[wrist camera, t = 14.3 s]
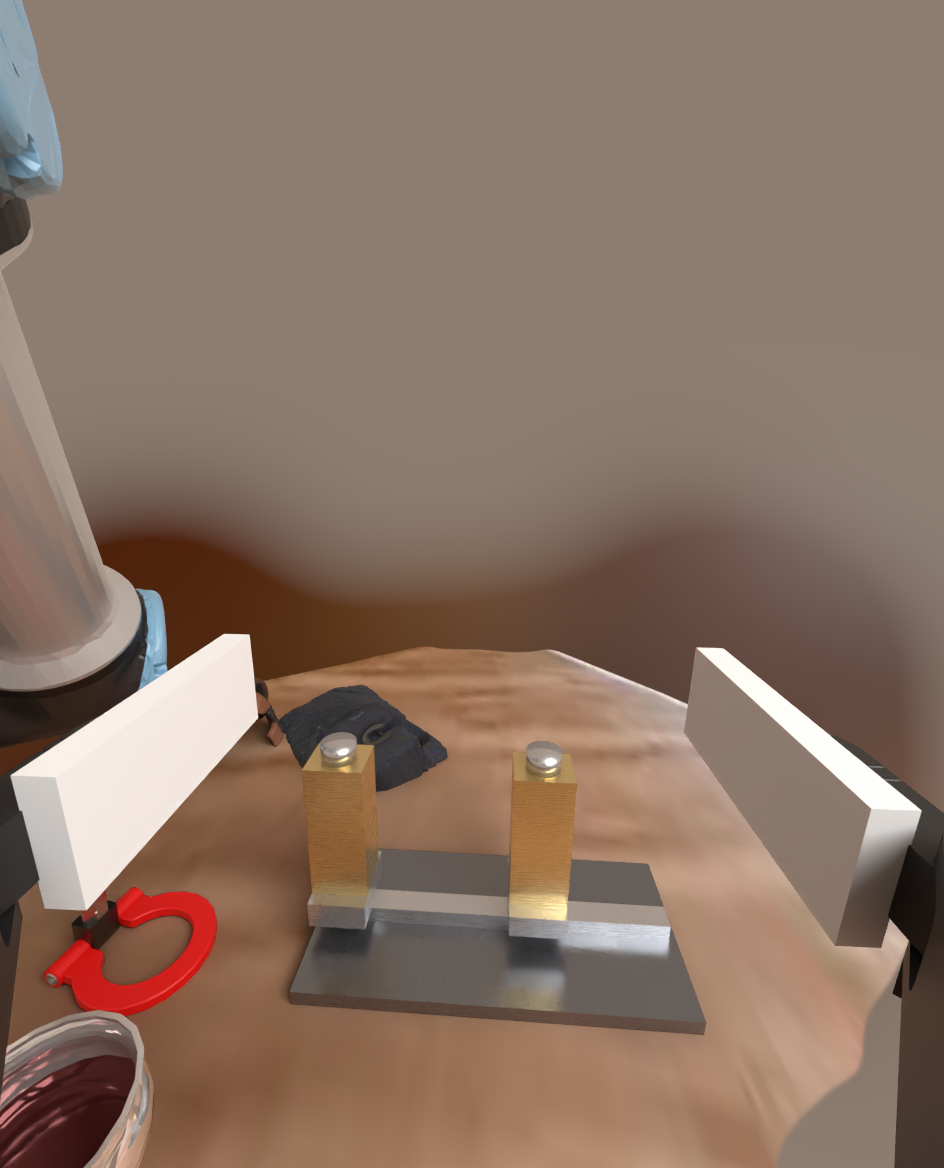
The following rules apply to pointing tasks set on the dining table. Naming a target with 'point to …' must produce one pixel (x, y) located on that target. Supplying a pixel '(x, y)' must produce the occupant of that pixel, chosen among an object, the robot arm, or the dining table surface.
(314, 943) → the bolt plate
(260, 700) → the brown crumpled piece
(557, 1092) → the dining table surface
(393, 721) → the dark folded cloth
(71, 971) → the tow hook
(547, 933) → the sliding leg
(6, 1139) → the wineglass
